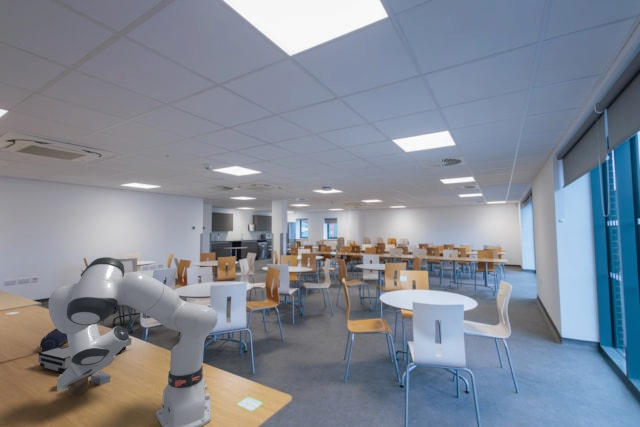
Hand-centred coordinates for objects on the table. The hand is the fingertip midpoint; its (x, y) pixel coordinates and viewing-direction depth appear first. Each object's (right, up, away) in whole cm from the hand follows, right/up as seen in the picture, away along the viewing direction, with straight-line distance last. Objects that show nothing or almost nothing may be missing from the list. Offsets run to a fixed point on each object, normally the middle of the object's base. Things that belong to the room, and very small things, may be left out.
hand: (77, 380), depth 118 cm
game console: (-22, -8, +31) cm, 39 cm away
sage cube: (-8, -5, +4) cm, 10 cm away
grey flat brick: (+3, -6, +9) cm, 11 cm away
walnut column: (0, -5, 0) cm, 5 cm away
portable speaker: (-54, -9, +49) cm, 74 cm away
